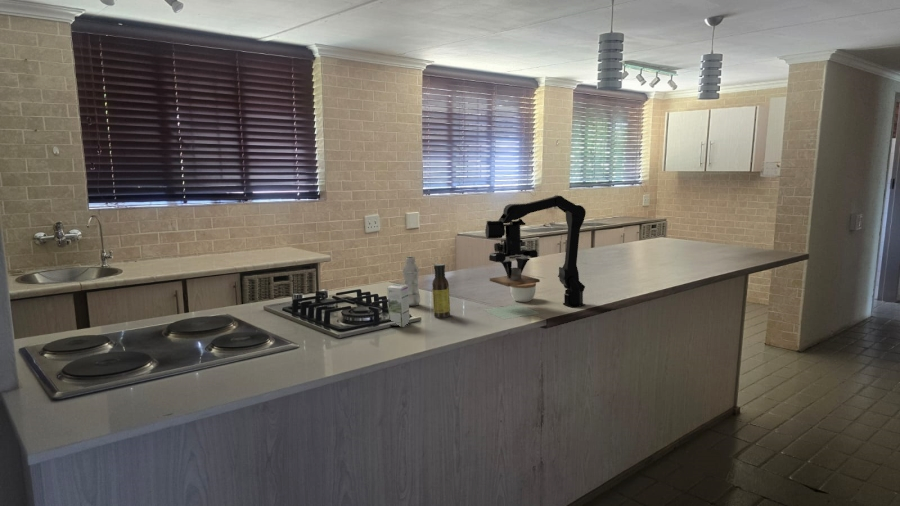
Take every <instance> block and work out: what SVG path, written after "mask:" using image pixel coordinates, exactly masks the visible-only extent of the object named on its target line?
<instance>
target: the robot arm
mask: <svg viewBox="0 0 900 506" xmlns="http://www.w3.org/2000/svg"><path fill="white" fill-rule="evenodd" d="M555 207H557V208H558V209H560V210H561V211H562V212H563V213H565V220H566V221H565V222H566V225H567V235H566V244H565V245H566V247H565V256H564V257H565V258H564V264H563V265H562V266H558V275H557V277H558V279H559V280H558V281H559V282H560V283H561V284H562V285H563V287H564V289H565V290H564V292H565V293H564V294H563V295H564V301H563V303H562V305H564V306H567V307H570V308H576V307H577V306H578V307H583V306H586V303H584V297H583V296H584V291H585V289H586V286H585V284H583V283H582V282H581V281H580V275H579V273H580V272H579V269H578V265H577V262H578V254H579V253H578V251H579V240H580V232H581V231H580V230H581V227H582V226H583V223H584V221H585V217H586V214H587V212H586V209H585V207H584V206H582V205H580V204H575V203H573V202H572V201H569V199H567V198H564V197H563V195H562V196H561V195H557V194H556V195H554V196H550V197H547V198H542V199H539V200H534V201H529V202H523V203H509V204H507V205H505V207H504V208H503V213H502V214H501V216H500V217H499V219H498V220H486V225H485V229H484V232H485V237H486V239H488V240H489V239H502V238H503V236H505V239H503V243H502V244H501V243H500V242H495V243H494V245H493V249H494V252H491V253H490V254H489V256H488V259H489V261H491V262H493V263H494V262H495V263H501V264H502V266H503V268H504V270H505V272H506V276H508V278H511V268H513V267H512V263H513V261H511V260H510V259H514V258H515V260H516V264H517V267H516V268H520V269H521V274H522V273H523V272H524V269H525V267H526V265H527V263H528V262H529V261H531V259H533V258H538V256H539V255H538V254H539V253H538V250H536V249H535V248H534V249H533V248H525V249H522V245H521V244H522V243H523V241H524V240H523V239H522V237H521V226H526V222H524V220H523V219H522V218H524V217H525V216H527V215H529V214H531V213H536V212H540V211H544V210H548V209H551V208H555Z"/></svg>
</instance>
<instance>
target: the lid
mask: <svg viewBox="0 0 900 506" xmlns="http://www.w3.org/2000/svg"><path fill="white" fill-rule="evenodd" d="M489 282H492V283H494V284H495V283H496V284H499V285H501V286H505V287H509V288H510V286H516V285H523V284H530V283H536V284H537V283H540V282H541V281H540V279H539V278H535V277H531V276H529V275H523V274H522V273H521V269H520V268H517V267H511V278H508V276H507V275H505V276H497V277H492V278H491V277H489Z"/></svg>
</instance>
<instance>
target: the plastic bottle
mask: <svg viewBox="0 0 900 506" xmlns="http://www.w3.org/2000/svg"><path fill="white" fill-rule="evenodd" d="M419 272H420V269H419V266H417V264H416V257H415V256H406V258H405V264H404V267H403V269H402V273H403V279H404V280H403V281H404V285H408V295H409V307H414V306H415V307H416V306H418V305H420V303H421V295H420V291H419V290H420V289H419Z"/></svg>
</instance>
